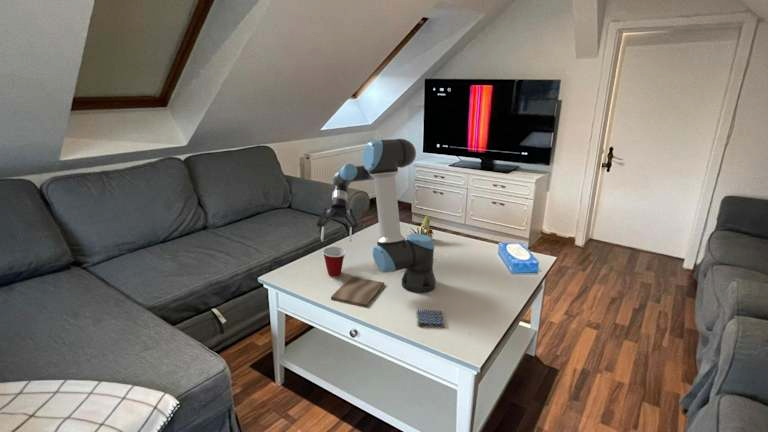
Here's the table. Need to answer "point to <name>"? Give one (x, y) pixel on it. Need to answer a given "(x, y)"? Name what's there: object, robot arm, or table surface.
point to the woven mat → (430, 318)
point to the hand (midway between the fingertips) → (336, 240)
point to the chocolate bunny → (427, 226)
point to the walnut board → (358, 291)
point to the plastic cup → (334, 260)
